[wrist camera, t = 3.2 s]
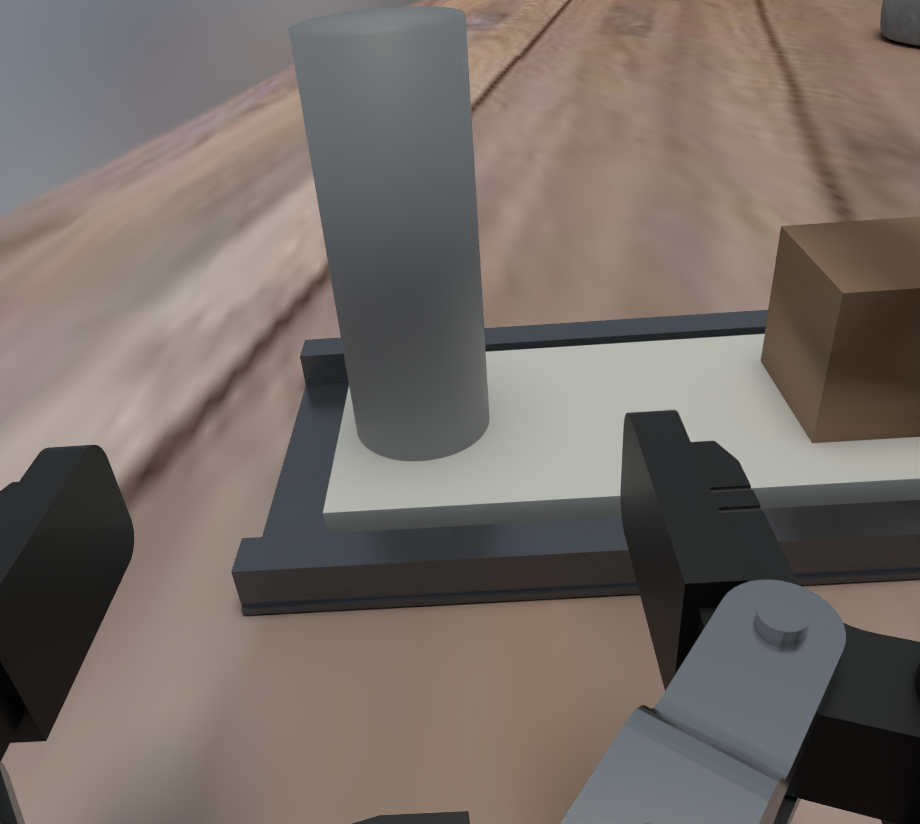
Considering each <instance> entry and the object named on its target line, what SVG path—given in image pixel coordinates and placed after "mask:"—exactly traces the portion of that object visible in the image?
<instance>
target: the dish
mask: <svg viewBox="0 0 920 824" xmlns="http://www.w3.org/2000/svg"><path fill="white" fill-rule="evenodd" d="M880 23H881V32H882V34H883V35H884V36H885V37H887V38H888V39H891V40H894V41H897V42H902V43H907V44H912V45H917V46H920V0H883V3H882V9H881V22H880Z"/></svg>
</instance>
